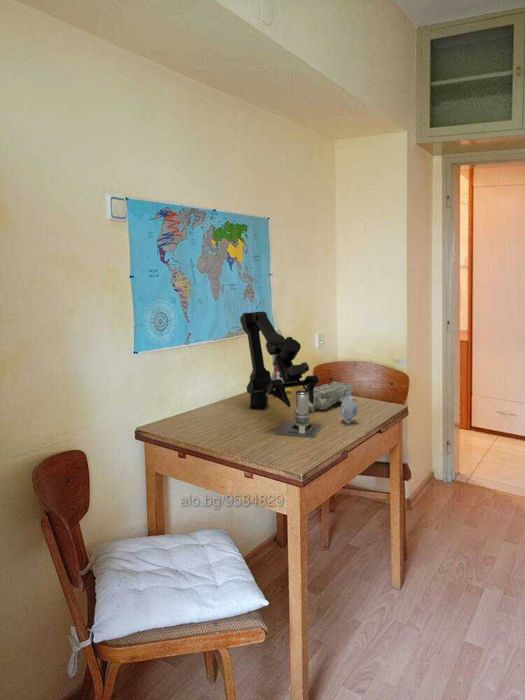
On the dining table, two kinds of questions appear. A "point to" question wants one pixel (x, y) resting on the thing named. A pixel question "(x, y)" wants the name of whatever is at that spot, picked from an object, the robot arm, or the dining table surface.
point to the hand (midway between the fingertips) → (301, 404)
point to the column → (302, 409)
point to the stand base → (291, 430)
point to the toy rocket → (276, 375)
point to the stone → (329, 395)
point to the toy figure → (348, 408)
